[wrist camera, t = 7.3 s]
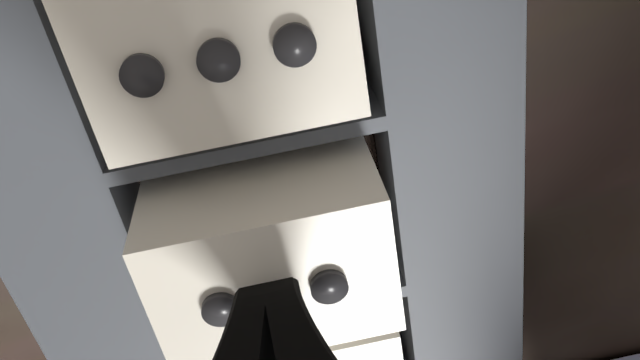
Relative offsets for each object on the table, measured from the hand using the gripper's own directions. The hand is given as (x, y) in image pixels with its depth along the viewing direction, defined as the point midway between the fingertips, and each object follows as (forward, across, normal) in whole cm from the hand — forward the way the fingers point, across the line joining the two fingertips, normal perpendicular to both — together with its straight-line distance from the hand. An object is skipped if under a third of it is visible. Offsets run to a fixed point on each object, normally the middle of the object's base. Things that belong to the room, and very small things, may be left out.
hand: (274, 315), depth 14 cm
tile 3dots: (+6, 0, -5) cm, 8 cm away
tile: (+4, 0, 0) cm, 4 cm away
